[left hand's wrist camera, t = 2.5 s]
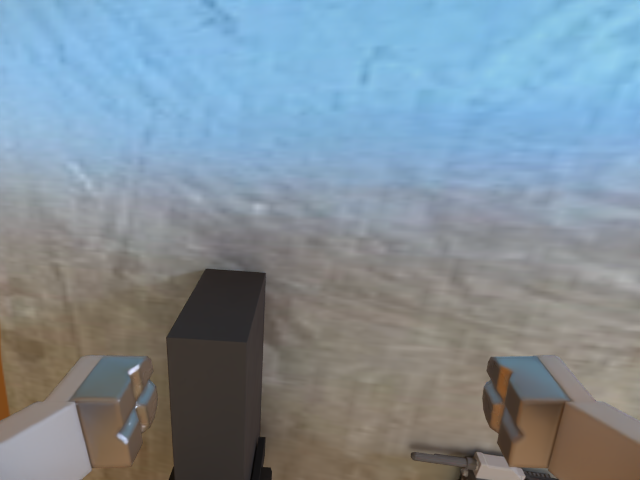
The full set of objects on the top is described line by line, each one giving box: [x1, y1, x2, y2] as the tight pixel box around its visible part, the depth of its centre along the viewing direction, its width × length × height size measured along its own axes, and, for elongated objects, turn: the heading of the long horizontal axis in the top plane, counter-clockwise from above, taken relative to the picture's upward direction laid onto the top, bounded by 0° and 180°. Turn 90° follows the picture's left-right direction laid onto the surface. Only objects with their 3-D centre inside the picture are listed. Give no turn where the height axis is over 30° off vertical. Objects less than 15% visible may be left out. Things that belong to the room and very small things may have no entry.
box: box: [166, 269, 266, 480], centre depth 43 cm, size 24×6×12 cm, turn 175°
